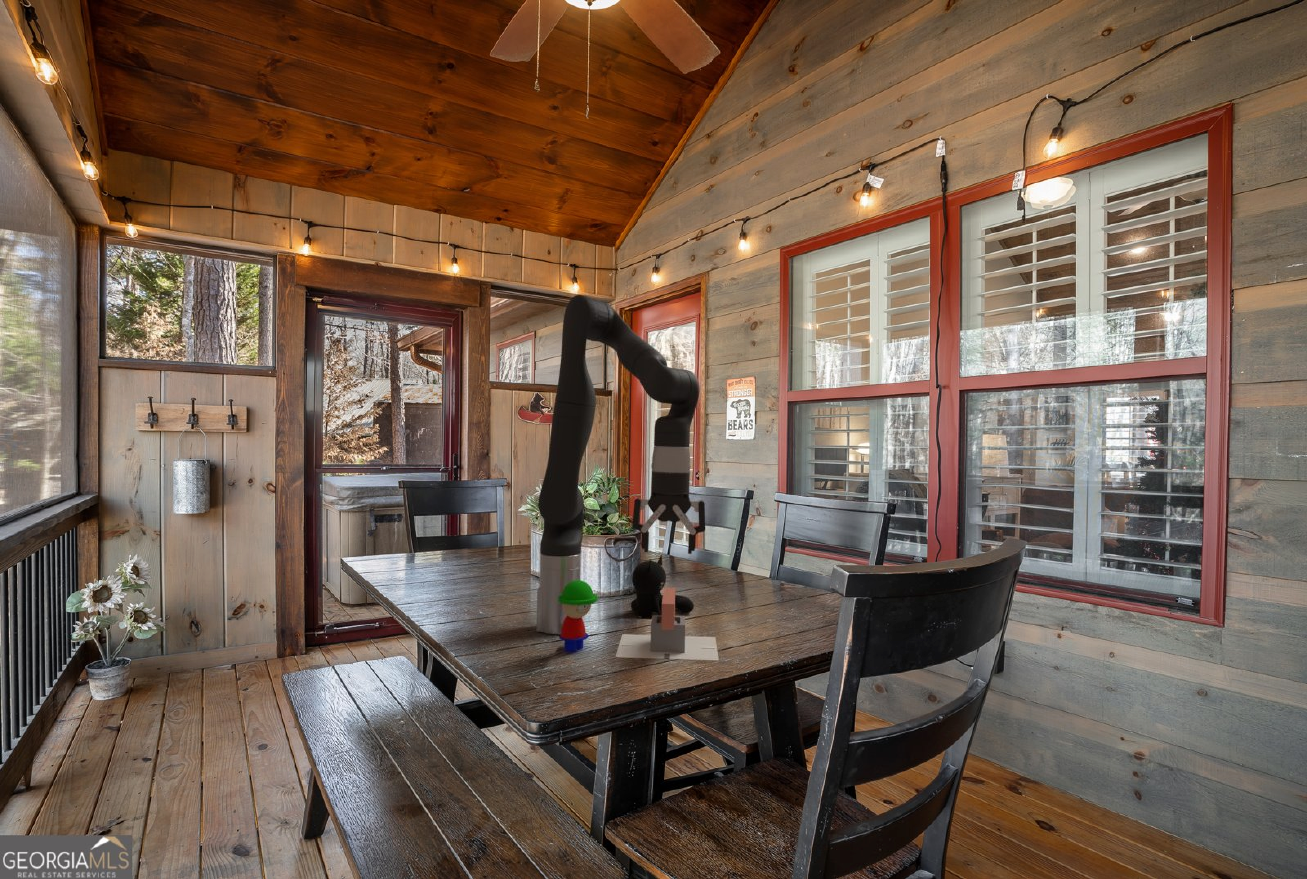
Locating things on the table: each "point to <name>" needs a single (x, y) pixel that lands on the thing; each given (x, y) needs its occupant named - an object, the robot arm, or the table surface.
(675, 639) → the red bar with frame
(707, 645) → the lock board
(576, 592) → the toy
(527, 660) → the table surface
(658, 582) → the figurine
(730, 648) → the table surface
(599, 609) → the table surface
